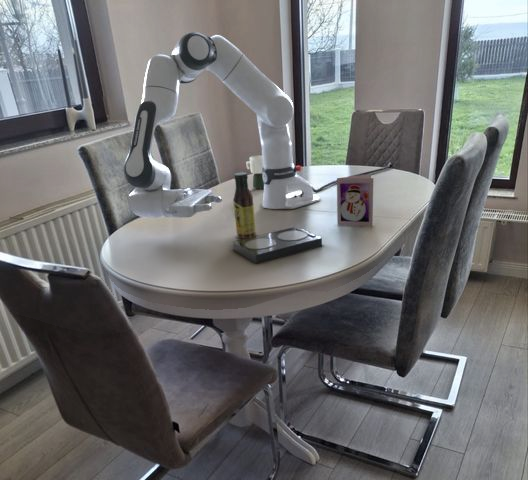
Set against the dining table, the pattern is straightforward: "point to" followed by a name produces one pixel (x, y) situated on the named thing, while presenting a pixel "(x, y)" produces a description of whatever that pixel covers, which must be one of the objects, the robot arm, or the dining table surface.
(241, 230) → the sauce bottle
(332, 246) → the dining table surface
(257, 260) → the hot plate
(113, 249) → the dining table surface
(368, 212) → the greeting card
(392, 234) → the dining table surface
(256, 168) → the character mug
